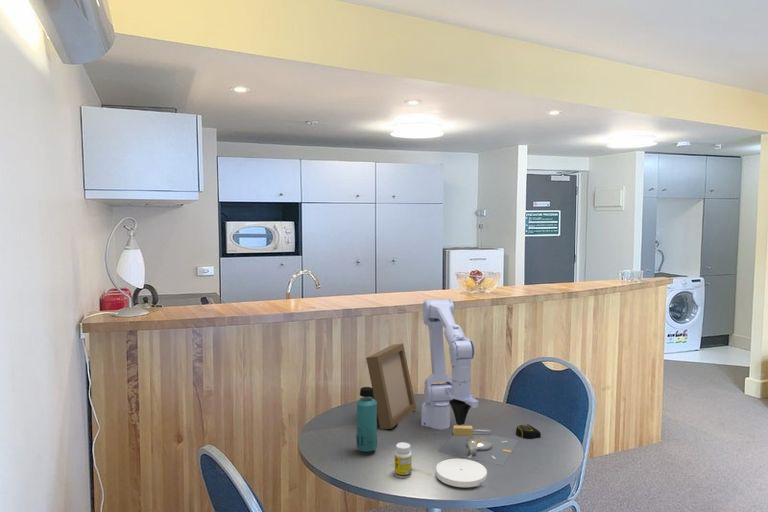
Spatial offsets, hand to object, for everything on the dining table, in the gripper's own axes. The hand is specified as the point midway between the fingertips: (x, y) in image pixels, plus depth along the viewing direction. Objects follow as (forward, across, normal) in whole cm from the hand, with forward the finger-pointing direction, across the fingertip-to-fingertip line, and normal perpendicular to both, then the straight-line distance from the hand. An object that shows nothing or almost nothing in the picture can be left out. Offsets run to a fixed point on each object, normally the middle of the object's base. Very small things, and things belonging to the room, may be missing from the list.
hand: (460, 423), depth 163 cm
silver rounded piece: (+8, +1, +6) cm, 10 cm away
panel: (+9, 0, +7) cm, 12 cm away
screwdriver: (+8, -8, +11) cm, 16 cm away
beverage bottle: (+10, -14, -25) cm, 30 cm away
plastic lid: (+10, +12, -8) cm, 18 cm away
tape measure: (+10, 0, +28) cm, 29 cm away
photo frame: (+10, -37, -6) cm, 39 cm away
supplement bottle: (+10, +3, -22) cm, 24 cm away
